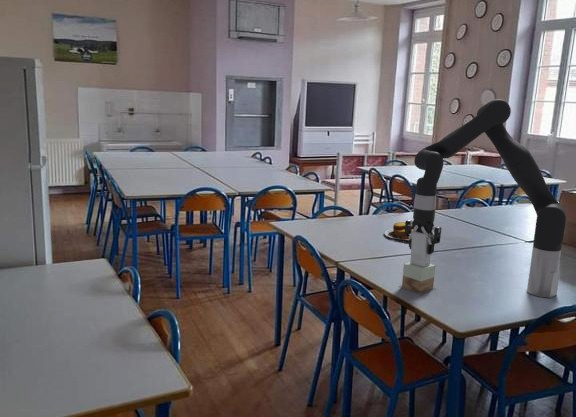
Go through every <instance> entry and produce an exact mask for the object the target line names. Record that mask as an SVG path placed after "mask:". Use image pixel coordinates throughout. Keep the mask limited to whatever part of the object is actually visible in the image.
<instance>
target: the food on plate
mask: <svg viewBox="0 0 576 417" xmlns="http://www.w3.org/2000/svg"><path fill="white" fill-rule="evenodd" d="M405 222H406V221H399V222H395V223H394V224H393V226H392V228H391V227H390V228H389V229H386V230H385V231H384V232H383V234H384V235H385V236H386V237H389V238H391V239H396V240H400V241H408V242H409V238H408V237H406V236H405ZM413 229H414V227H413V225H412V230H413ZM433 231H434V230H432V232H433ZM411 232H412V231H411ZM433 235H434V232H433Z"/></svg>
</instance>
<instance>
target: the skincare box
mask: <svg viewBox="0 0 576 417" xmlns="http://www.w3.org/2000/svg"><path fill="white" fill-rule="evenodd" d="M428 235H429V236H430V235H431V233H430V234H428ZM428 244H429V243H428V240H427V235H425V234H424V233H420V232H412V243H411V249H410V261H409V262H410V263H412V264H415V265H419V266H423V267H426V266H429V265H430V264H431V255H432V254H430V255H429V254H427V252H428Z"/></svg>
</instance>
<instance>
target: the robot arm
mask: <svg viewBox="0 0 576 417" xmlns="http://www.w3.org/2000/svg"><path fill="white" fill-rule="evenodd" d="M511 113H512V110H511V105H510V104H509V103H508V102H507V101H506V100H504V99H501V98H496V99H492V100H490V101H488V102H487V103H485V104H484V105H483V106H481V107H480V108H478V110H477V112H476V116H475V117H473V118H472V119H470V120H469V121H467V122H466V123H464V124H463V125H461V126H460V127H458V128H456V129H455V130H453V131H451V132H450V133H448V134H447V135H446V136H444V137H443V138H441V139H440V140H439V141H436V142H435V143H433V144H430V145H428V146H426V147H424V148H422V149H421V150H419V151H418V152H417V153H416V155H415V157H414V161H413V162H414V165H415V167H416V168H417V169H419V170H422V171H424V174H423V176H422V177H419V178H418V179H417V181H416V186H415V197H414V201H413V211H412V219H408V220H405V221H404V222H405V236H406V237H408V238H409V241H408V247H409V249H410V250H411V243H412V232H420V233H424V234H425V235H427V240H428V243H429V244H428V252H427V254H429V255H430V254H431V255H432V254H434V252H435V251H434V250H435V245H436V244H440V242H441V236H442V226H435V225H434V222H435V219H436V207H437V187H438V182H439V179H440V177H441V174H442V172H443V168H444V159H450V158H452V157H453V156H455V155H456V154H458V153H459V152H460V151H461V150H463V149H464V148H465V147H467V146H468V145H469V144H471V143H472V142H473V141H475V139H477V138H479V137H480V136H482V135H483V134H484V133H485V135H486V136H487V138H488V139H489V140H490V141H491V144H492V145H493V146H494V148H495V149H496V151H497V153H498V155H499V156H500V158H501V159H502V161H503V163H504V165H505V166H506V168H507V170H508V172H509V174H510V175H511V177H512V179H513V180H514V181H515V183H516V184H517V186H518V187H519V188H520V189H521V190H522V192H524V193H525V195H526V196H527V197H528V199H529V200H530V203H531V205H532V206H533V208H534V210H535V213H536V221H535V228H534V235H533V236H534V237H533V244H532V252H531V259H530V264H529V274H528V281H527V289H526V291H527V292H528V293H529V294H530V295H533V296H536V297H541V298H546V299H547V298H548V299H551V298H553V297H555V296H557V294H558V289H559V288H558V287H559V283H560V282H559V281H560V275H561V269H559V267H560V266H559V265H560V260H561V253H562V248H563V247H562V246H563V243H564V236H565V230H566V229H565V228H566V222H567V216H566V212H565V209H564V207H562V205H561V204H560V203H559V201H558V200H557V199H556V198H555V196H554V194H553V193H552V192H551V191H550V189H549V187H548V185H547V184H546V181H545V177H544V176H543V174H542V171H541V170H540V167H539V166H538V164H537V162H536V161H535V159H534V157H533V155H532V154H531V152H530V151H529V150H528V149H527V147H525V146H524V145H523V144H521V143H520V142H518V141H517V140H516V139H514V138H513V137H512V136H511V134H510V133H509V132H508V130H507V128H506V127H505V125H504V123H506V122H507V121H508V120H509V119H510V117H511ZM412 225H413V227H414V229H413V230H412ZM411 231H412V232H411ZM432 231H433V232H434V235H433V232H432ZM430 233H431V235H430V236H429V235H428V234H430Z"/></svg>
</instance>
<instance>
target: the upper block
mask: <svg viewBox="0 0 576 417" xmlns="http://www.w3.org/2000/svg"><path fill="white" fill-rule="evenodd" d="M402 271H403V272H402V277H403V276H406V277H409V278H412V279H415V280H418V281H424V280H427V279H430V278H433V277H434V278H435V275H436V273H435V272H436V265H435V264H434V263H433V264H432V263H430V265H429V266H426V267H423V266H419V265H415V264H412V263H410V261H408V262H405V263H403V269H402Z"/></svg>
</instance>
